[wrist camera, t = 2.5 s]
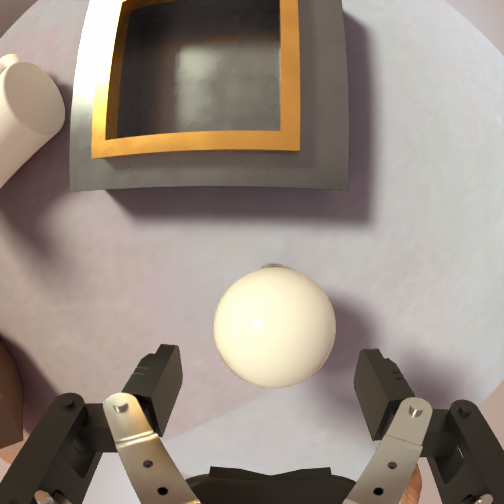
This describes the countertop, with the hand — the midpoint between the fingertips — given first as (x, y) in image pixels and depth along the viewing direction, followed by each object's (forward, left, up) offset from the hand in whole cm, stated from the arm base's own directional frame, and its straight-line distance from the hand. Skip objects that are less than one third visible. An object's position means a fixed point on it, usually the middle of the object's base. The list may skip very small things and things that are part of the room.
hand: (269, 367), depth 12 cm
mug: (+24, -15, -11) cm, 30 cm away
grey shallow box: (+5, -17, -11) cm, 21 cm away
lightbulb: (0, 0, -11) cm, 11 cm away
